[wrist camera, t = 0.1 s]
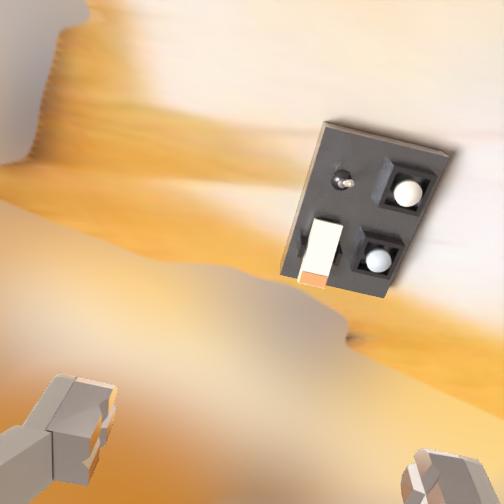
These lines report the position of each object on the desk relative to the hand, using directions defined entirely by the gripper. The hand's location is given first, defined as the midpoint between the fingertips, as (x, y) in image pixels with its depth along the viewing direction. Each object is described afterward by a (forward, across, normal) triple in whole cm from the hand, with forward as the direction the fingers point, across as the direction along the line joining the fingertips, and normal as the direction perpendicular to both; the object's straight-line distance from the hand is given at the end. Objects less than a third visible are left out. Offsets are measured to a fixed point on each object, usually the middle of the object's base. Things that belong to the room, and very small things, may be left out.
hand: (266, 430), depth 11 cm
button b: (+43, -18, +15) cm, 49 cm away
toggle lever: (+44, -10, +6) cm, 45 cm away
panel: (+48, -14, +11) cm, 51 cm away
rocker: (+44, -10, +17) cm, 48 cm away
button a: (+43, -18, +5) cm, 47 cm away
